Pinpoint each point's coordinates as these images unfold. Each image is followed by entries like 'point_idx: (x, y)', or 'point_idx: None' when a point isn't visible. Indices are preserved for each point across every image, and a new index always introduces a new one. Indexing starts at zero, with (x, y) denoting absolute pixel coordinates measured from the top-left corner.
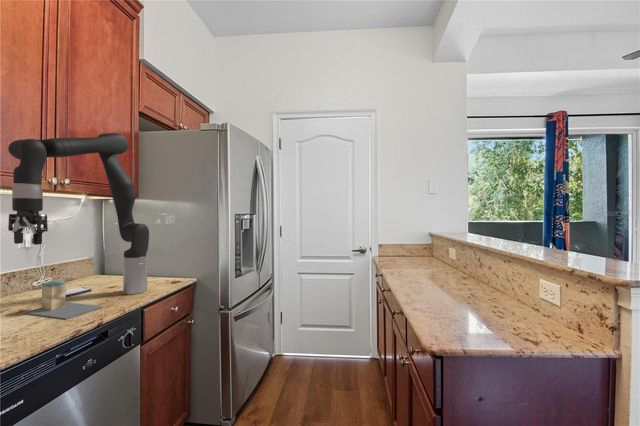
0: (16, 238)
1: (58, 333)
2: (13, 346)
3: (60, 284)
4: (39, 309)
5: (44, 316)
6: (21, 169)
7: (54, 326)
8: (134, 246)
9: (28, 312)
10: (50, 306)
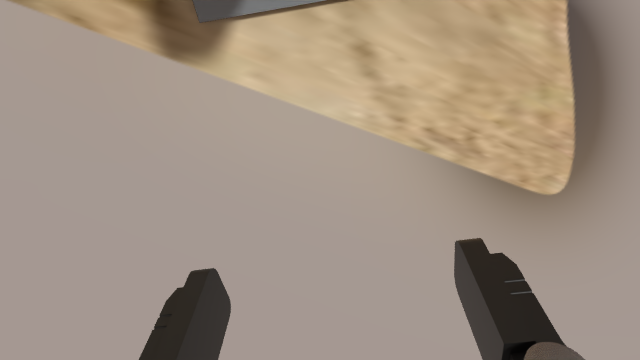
0: (216, 348)
1: (538, 72)
2: (503, 166)
3: None
4: None
5: (315, 1)
6: None
7: (462, 43)
8: None
9: (217, 12)
10: None
